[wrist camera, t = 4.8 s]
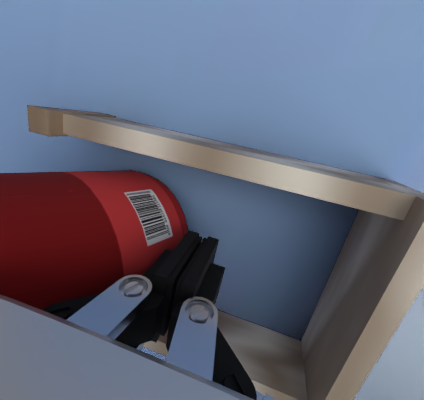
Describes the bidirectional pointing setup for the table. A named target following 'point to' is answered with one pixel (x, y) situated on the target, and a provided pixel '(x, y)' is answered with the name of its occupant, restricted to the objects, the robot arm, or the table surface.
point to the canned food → (81, 231)
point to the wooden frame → (340, 276)
